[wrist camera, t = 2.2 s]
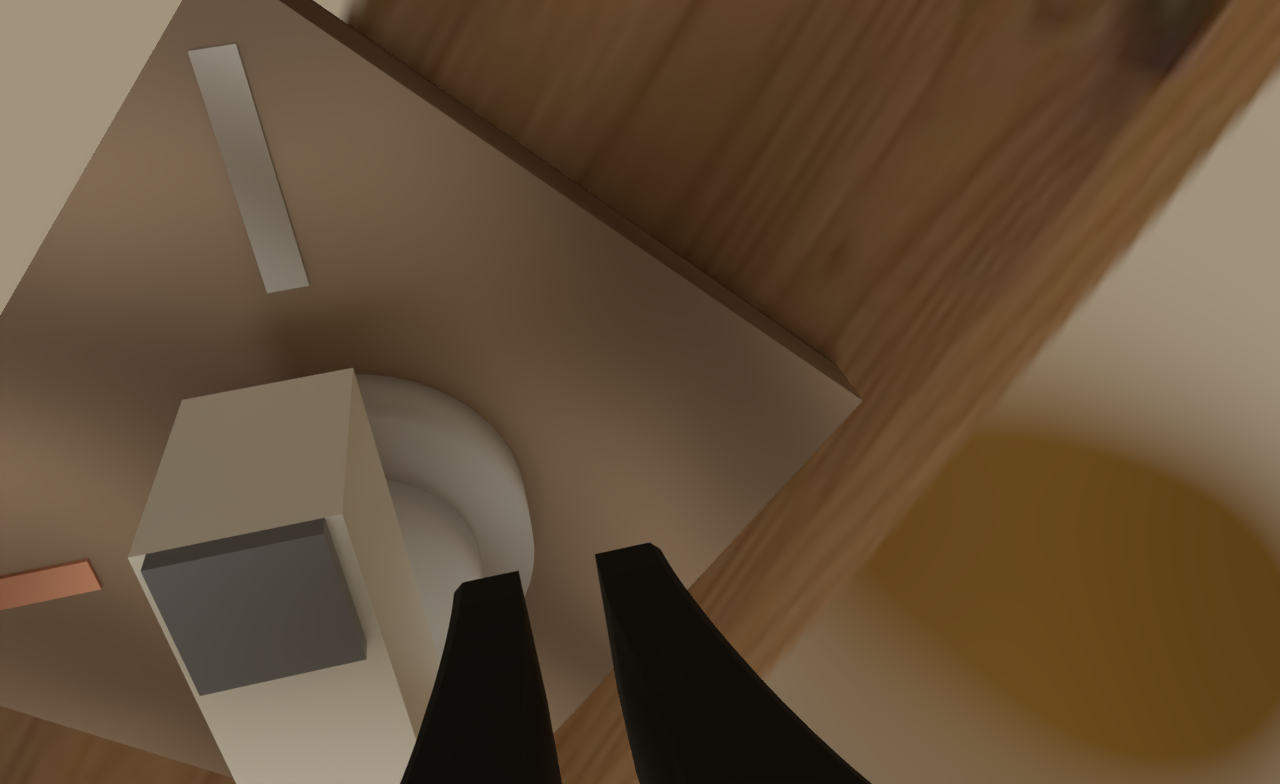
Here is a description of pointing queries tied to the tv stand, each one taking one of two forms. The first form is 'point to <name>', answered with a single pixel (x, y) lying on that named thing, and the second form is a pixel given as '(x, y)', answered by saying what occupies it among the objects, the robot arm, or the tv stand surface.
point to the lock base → (363, 354)
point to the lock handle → (300, 581)
